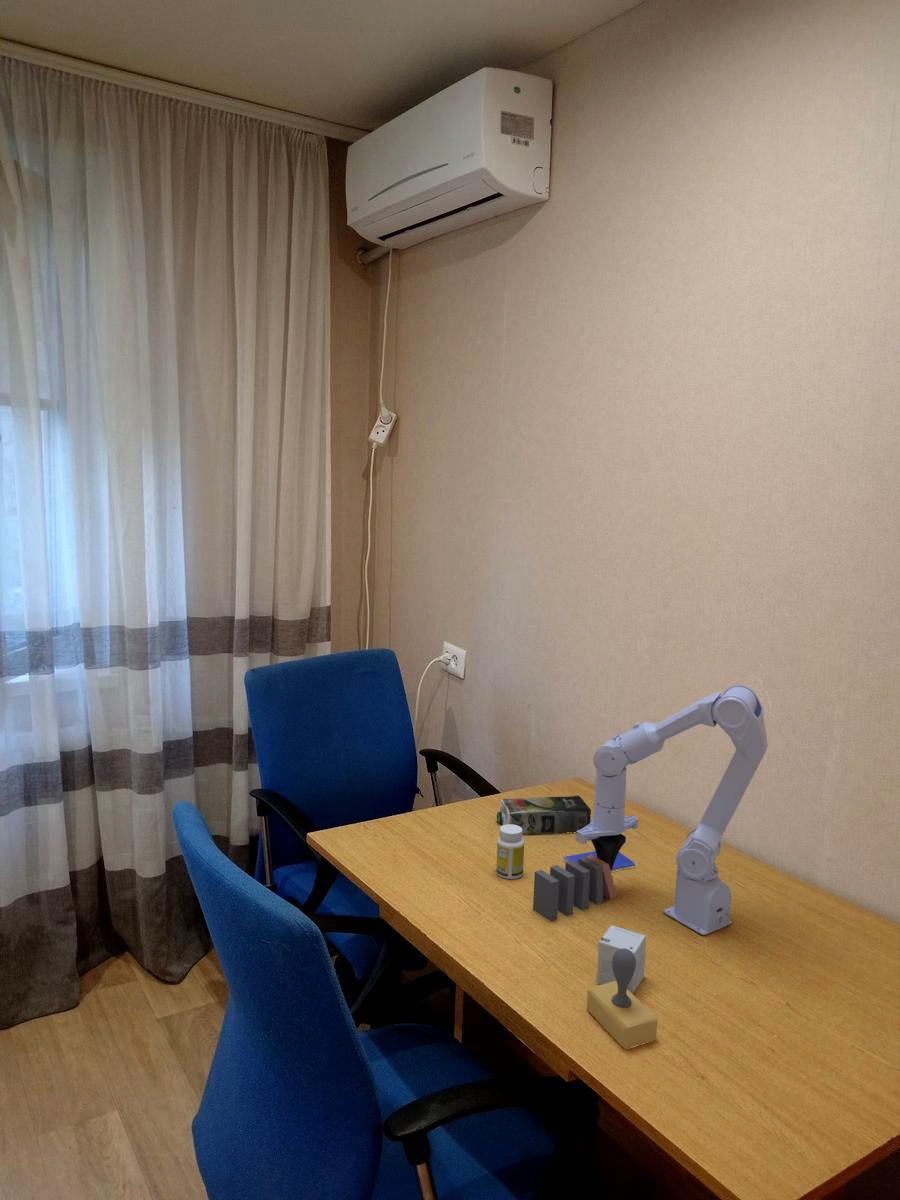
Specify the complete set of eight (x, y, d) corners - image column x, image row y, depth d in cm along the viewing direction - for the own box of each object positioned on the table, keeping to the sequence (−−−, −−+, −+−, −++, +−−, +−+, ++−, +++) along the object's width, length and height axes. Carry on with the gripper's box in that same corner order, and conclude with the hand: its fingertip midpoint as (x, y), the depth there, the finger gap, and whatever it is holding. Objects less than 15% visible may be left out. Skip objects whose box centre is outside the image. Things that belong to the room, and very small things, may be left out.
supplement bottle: (523, 868, 173) (525, 824, 171) (522, 880, 168) (524, 835, 166) (496, 866, 173) (498, 822, 172) (495, 878, 168) (497, 833, 167)
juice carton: (504, 837, 188) (505, 811, 187) (494, 820, 197) (496, 795, 197) (590, 835, 191) (592, 809, 190) (577, 818, 201) (578, 793, 200)
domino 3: (570, 896, 162) (571, 860, 161) (587, 908, 158) (590, 870, 157) (563, 899, 161) (565, 862, 160) (581, 910, 157) (583, 872, 156)
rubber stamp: (585, 1009, 128) (589, 936, 126) (617, 1001, 130) (621, 929, 128) (624, 1051, 119) (629, 972, 117) (657, 1041, 121) (663, 964, 119)
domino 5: (598, 884, 166) (590, 854, 163) (616, 895, 162) (608, 864, 159) (593, 889, 165) (584, 858, 163) (611, 900, 161) (603, 869, 158)
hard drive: (585, 872, 170) (635, 863, 175) (563, 855, 177) (612, 846, 182) (584, 880, 170) (635, 870, 175) (563, 862, 177) (612, 853, 182)
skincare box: (644, 977, 137) (647, 934, 135) (632, 996, 131) (635, 952, 130) (608, 965, 140) (611, 923, 139) (595, 983, 134) (598, 940, 133)
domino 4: (584, 891, 164) (584, 855, 162) (602, 902, 160) (602, 866, 158) (578, 894, 163) (578, 858, 162) (596, 905, 159) (596, 868, 157)
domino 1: (539, 907, 158) (541, 869, 156) (557, 919, 153) (559, 880, 152) (532, 909, 157) (534, 871, 156) (550, 921, 153) (552, 883, 151)
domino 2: (554, 902, 160) (556, 864, 159) (572, 913, 156) (574, 875, 154) (548, 904, 159) (550, 866, 158) (566, 916, 155) (568, 877, 154)
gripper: (621, 789, 168) (617, 853, 170) (566, 803, 160) (563, 870, 162) (648, 801, 162) (643, 867, 164) (592, 816, 154) (588, 885, 156)
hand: (605, 869), depth 163 cm, fingers closed
